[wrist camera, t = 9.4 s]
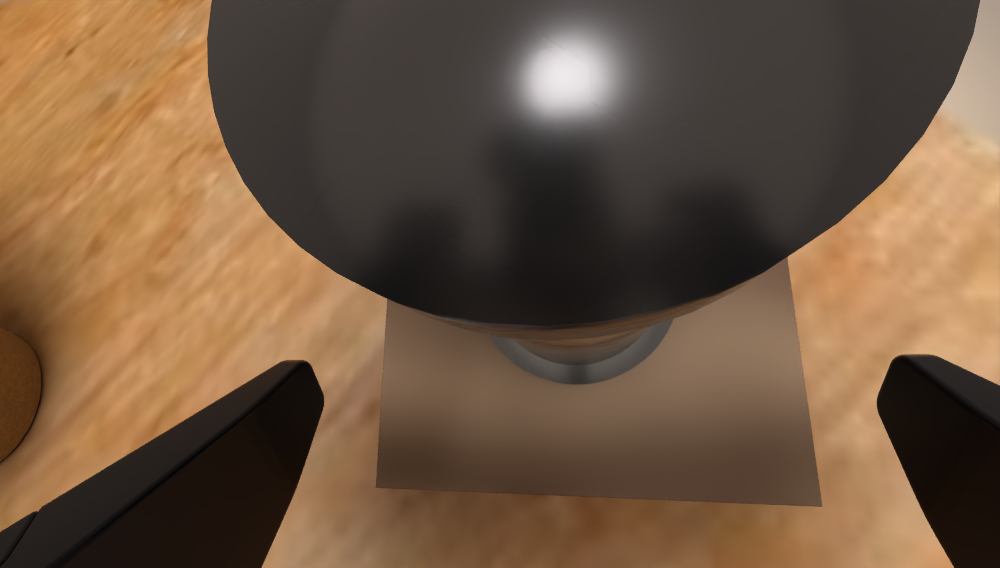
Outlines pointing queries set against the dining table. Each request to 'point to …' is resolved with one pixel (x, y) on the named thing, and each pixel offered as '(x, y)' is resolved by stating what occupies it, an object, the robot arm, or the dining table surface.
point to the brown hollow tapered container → (17, 390)
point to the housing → (572, 148)
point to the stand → (608, 412)
